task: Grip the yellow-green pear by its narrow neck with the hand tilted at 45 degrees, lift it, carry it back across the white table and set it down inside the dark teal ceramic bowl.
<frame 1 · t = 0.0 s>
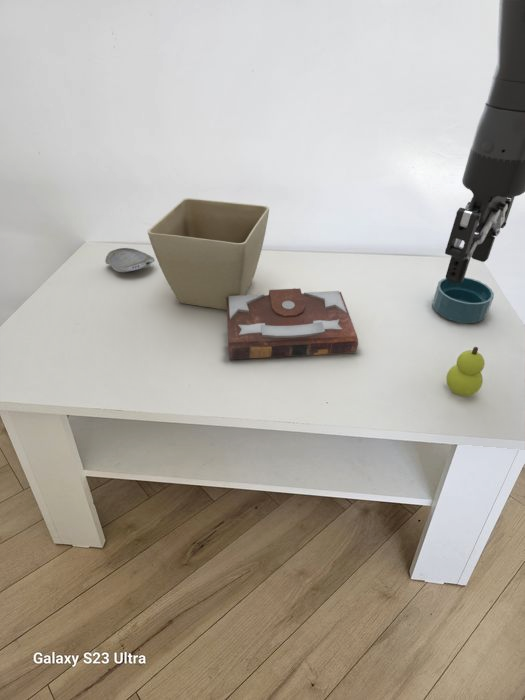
hand: (466, 269, 65), 21 cm above the table, tool pointing down, fingers open, 8 cm apart
book: (287, 333, 89), on the table
flower pot: (216, 293, 100), on the table
bowl: (458, 310, 95), on the table
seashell: (129, 271, 108), on the table
pear: (459, 391, 76), on the table
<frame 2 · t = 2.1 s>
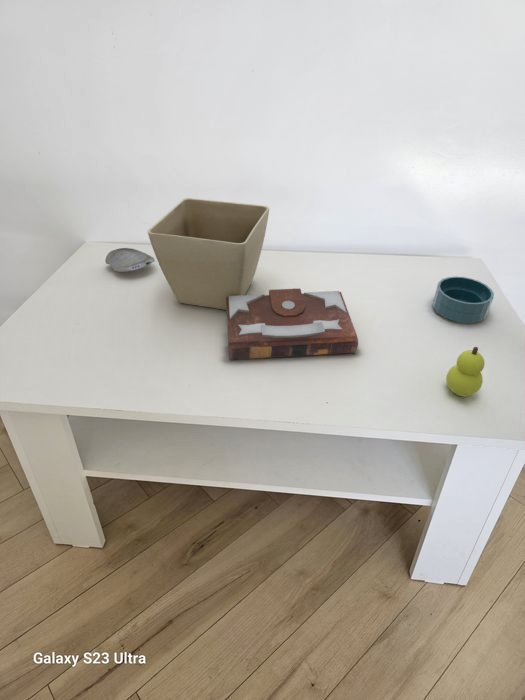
nothing on the table moved.
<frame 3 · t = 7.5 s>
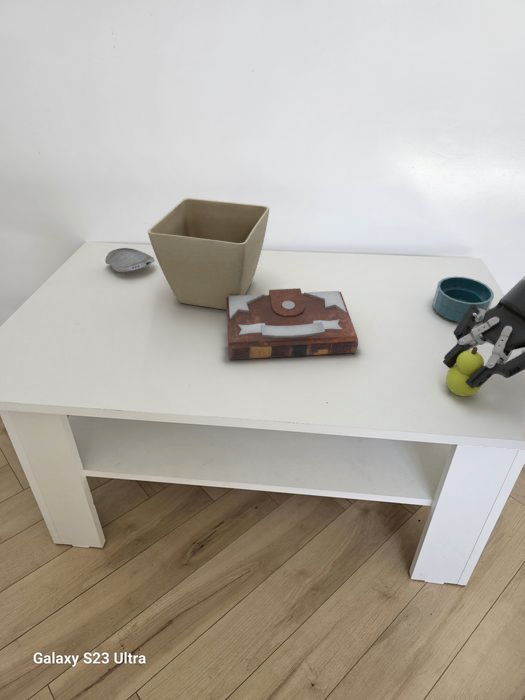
hand: (457, 375, 73), 4 cm above the table, tool tilted 45°, fingers closed on pear, 4 cm apart
pear: (459, 391, 76), on the table, touching gripper
everything else where it was.
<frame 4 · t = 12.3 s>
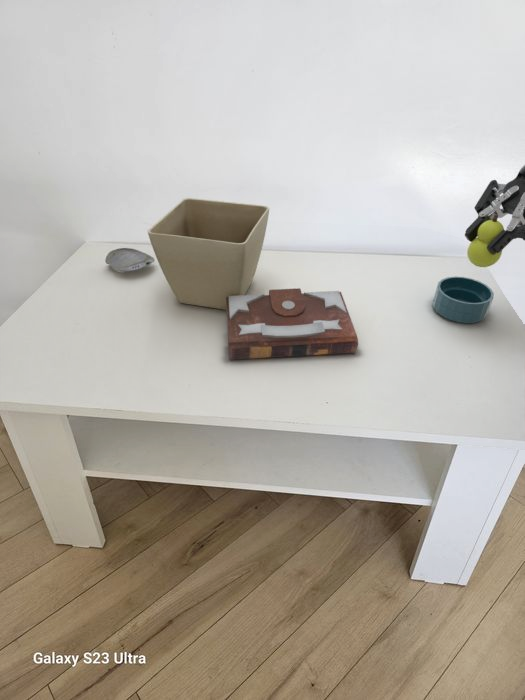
hand: (478, 244, 78), 18 cm above the table, tool tilted 45°, fingers closed on pear, 4 cm apart
pear: (479, 265, 81), point 14 cm above the table, touching gripper
everything else where it was.
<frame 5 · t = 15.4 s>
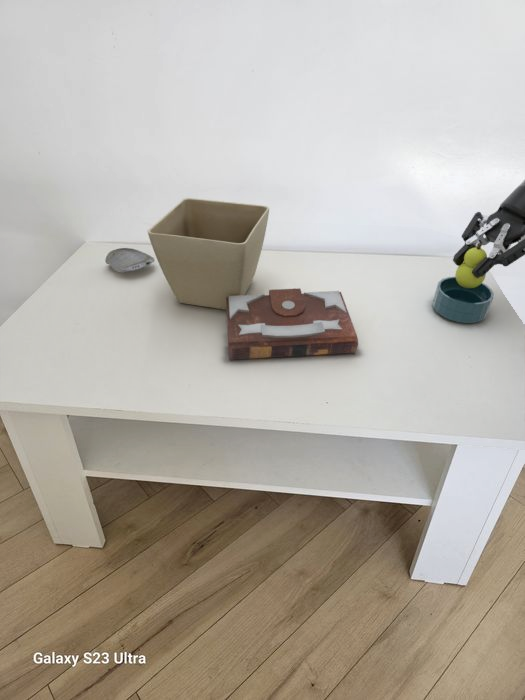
hand: (465, 268, 88), 10 cm above the table, tool tilted 45°, fingers closed on pear, 4 cm apart
pear: (466, 286, 92), point 6 cm above the table, touching gripper
everything else where it was.
when the fingers open (5 cm above the table, at t = 17.4 s): pear stays where it is, resting on bowl.
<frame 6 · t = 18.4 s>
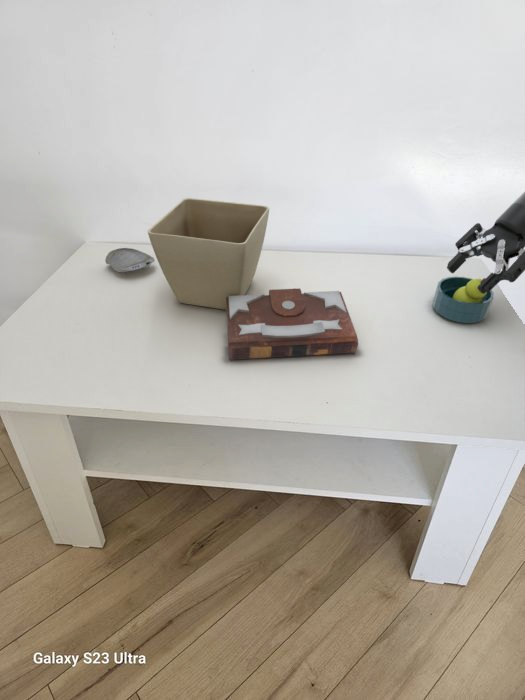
hand: (464, 280, 90), 8 cm above the table, tool tilted 45°, fingers open, 8 cm apart
pear: (460, 307, 95), point 1 cm above the table, tilted 23°, touching bowl
everything else where it was.
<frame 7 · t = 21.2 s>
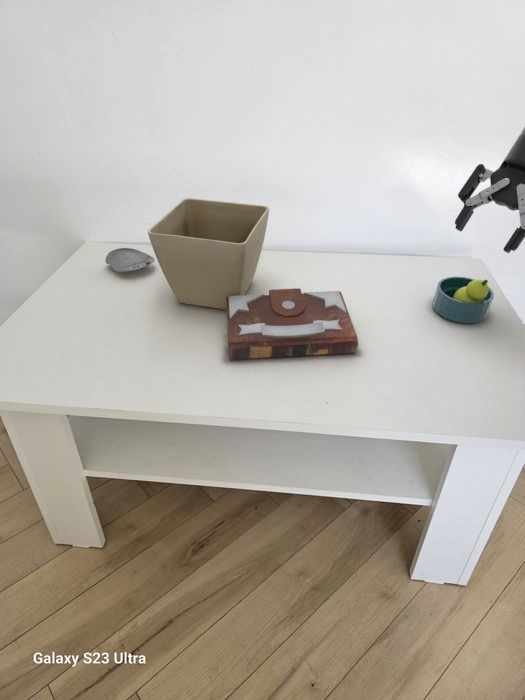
hand: (481, 240, 76), 20 cm above the table, tool tilted 35°, fingers open, 8 cm apart
nothing on the table moved.
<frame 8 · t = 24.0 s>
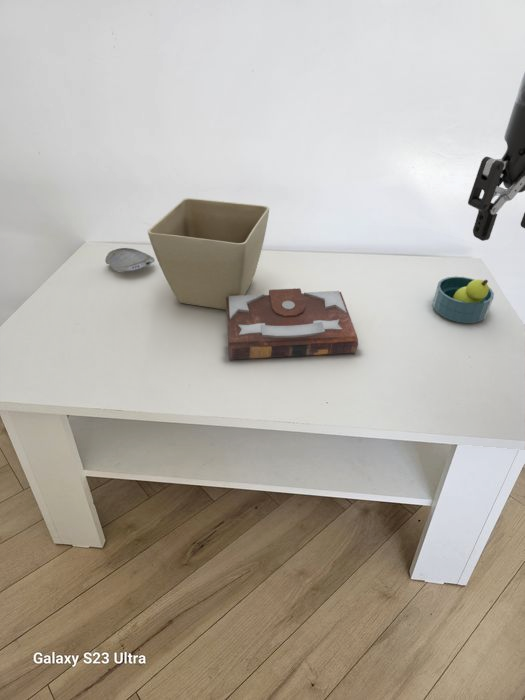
hand: (504, 233, 63), 26 cm above the table, tool pointing down, fingers open, 8 cm apart
nothing on the table moved.
at the end: pear inside the target area in the bowl (0.1 cm from its centre), point 0.9 cm above the bowl's base; the gripper is holding nothing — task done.
